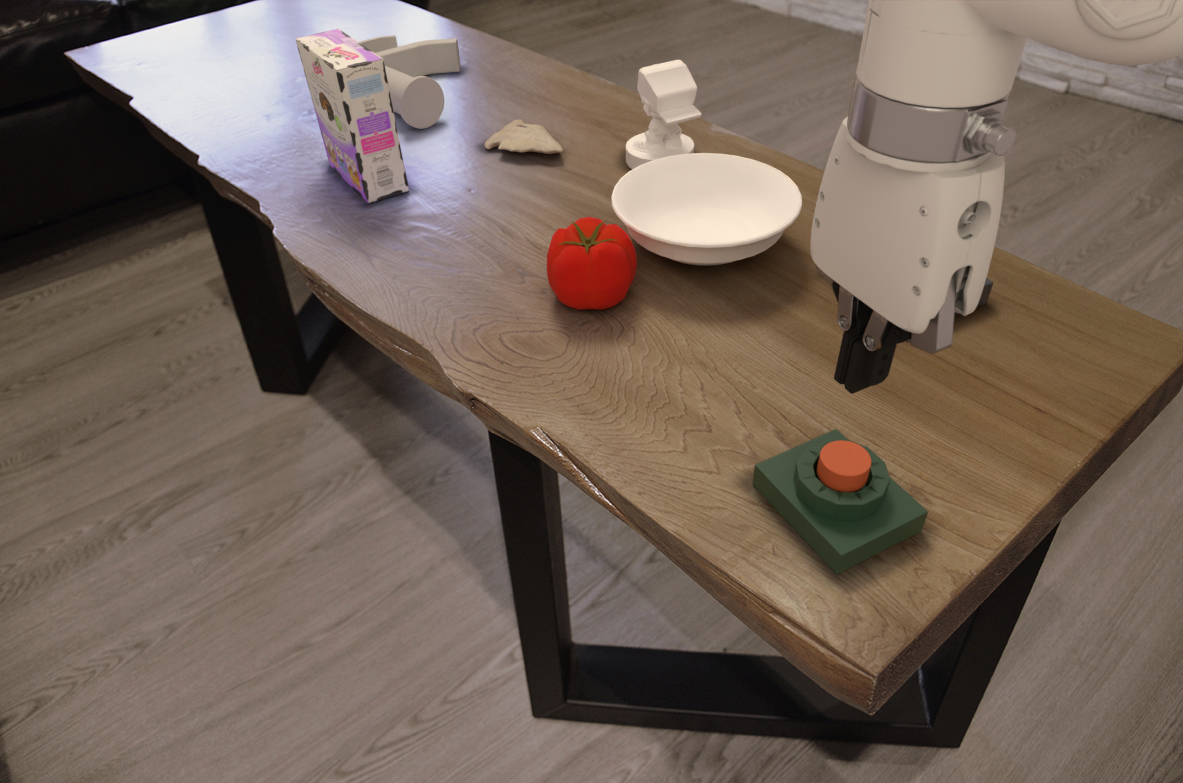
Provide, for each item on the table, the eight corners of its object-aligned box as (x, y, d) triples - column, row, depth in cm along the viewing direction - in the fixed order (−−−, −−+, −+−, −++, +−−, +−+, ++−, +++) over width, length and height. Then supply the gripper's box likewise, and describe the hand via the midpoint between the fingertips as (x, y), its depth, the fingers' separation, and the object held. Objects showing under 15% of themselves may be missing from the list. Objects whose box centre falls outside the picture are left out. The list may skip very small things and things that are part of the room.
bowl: (816, 222, 96) (824, 170, 92) (763, 318, 83) (769, 262, 78) (654, 190, 103) (655, 140, 99) (581, 274, 90) (578, 221, 85)
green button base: (922, 531, 62) (934, 494, 60) (836, 575, 60) (845, 539, 57) (832, 447, 69) (840, 411, 66) (752, 484, 66) (756, 448, 64)
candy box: (411, 191, 105) (385, 57, 94) (367, 206, 102) (334, 70, 92) (368, 152, 114) (340, 25, 103) (327, 164, 111) (293, 36, 100)
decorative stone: (522, 134, 118) (517, 113, 116) (585, 145, 111) (581, 123, 109) (479, 158, 114) (474, 136, 112) (542, 171, 107) (537, 149, 105)
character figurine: (672, 139, 113) (675, 48, 105) (710, 167, 107) (716, 72, 99) (614, 154, 110) (612, 61, 102) (649, 184, 104) (650, 88, 96)
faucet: (397, 84, 113) (308, 45, 127) (406, 134, 117) (319, 91, 132) (515, 50, 123) (421, 18, 138) (519, 97, 127) (427, 61, 142)
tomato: (582, 263, 91) (579, 200, 86) (652, 288, 87) (652, 224, 82) (527, 306, 86) (521, 241, 81) (599, 335, 82) (596, 269, 77)
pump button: (877, 480, 61) (882, 464, 60) (839, 499, 60) (842, 482, 59) (844, 450, 64) (848, 433, 63) (806, 467, 63) (809, 451, 61)
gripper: (1097, 152, 40) (988, 429, 52) (879, 55, 50) (830, 306, 62) (983, 192, 38) (896, 473, 50) (776, 81, 48) (746, 338, 60)
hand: (859, 380), depth 56 cm, fingers closed
